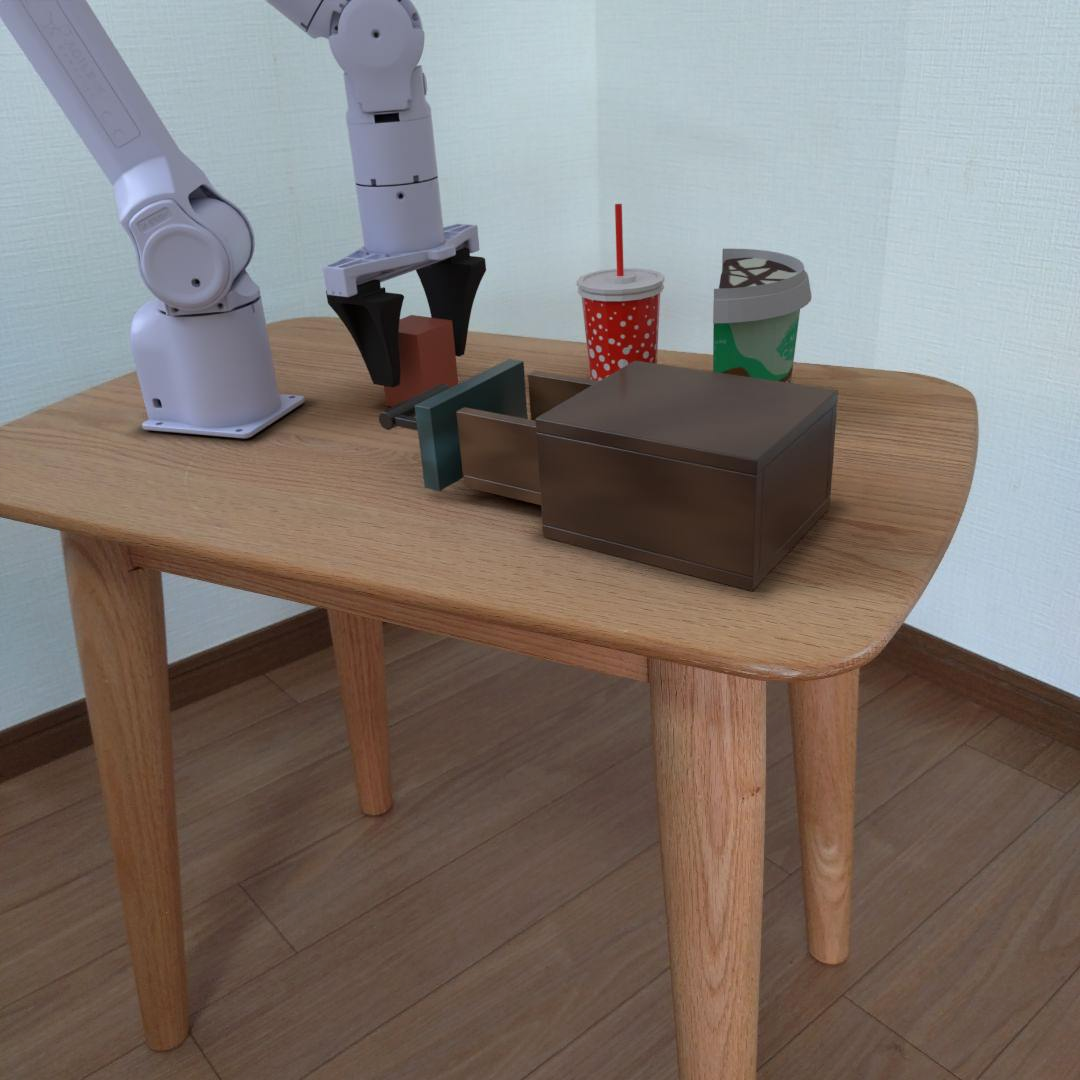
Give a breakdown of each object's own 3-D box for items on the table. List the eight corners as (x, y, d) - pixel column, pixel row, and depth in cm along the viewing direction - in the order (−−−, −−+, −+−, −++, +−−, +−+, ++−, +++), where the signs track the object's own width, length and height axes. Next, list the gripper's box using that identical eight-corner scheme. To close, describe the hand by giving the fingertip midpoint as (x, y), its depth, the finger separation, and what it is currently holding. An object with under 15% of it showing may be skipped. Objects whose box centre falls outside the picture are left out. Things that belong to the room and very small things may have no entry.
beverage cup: (668, 412, 74) (666, 209, 67) (582, 416, 74) (572, 215, 68) (662, 384, 79) (661, 193, 73) (582, 387, 80) (573, 198, 73)
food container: (806, 443, 67) (816, 290, 63) (711, 441, 69) (713, 291, 64) (803, 380, 78) (810, 245, 73) (720, 379, 79) (722, 246, 75)
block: (386, 406, 79) (375, 328, 76) (420, 389, 82) (411, 314, 79) (426, 413, 77) (417, 334, 74) (460, 397, 80) (452, 320, 77)
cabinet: (542, 537, 58) (534, 418, 55) (636, 468, 66) (634, 360, 62) (752, 591, 51) (757, 460, 48) (830, 508, 59) (838, 389, 56)
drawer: (366, 473, 65) (353, 393, 63) (458, 423, 72) (450, 349, 70) (585, 527, 57) (581, 437, 54) (667, 465, 63) (666, 383, 61)
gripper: (367, 201, 64) (396, 407, 71) (505, 164, 75) (519, 347, 81) (288, 196, 68) (322, 393, 74) (429, 162, 78) (449, 337, 85)
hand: (420, 368), depth 78 cm, fingers open, 7 cm apart
